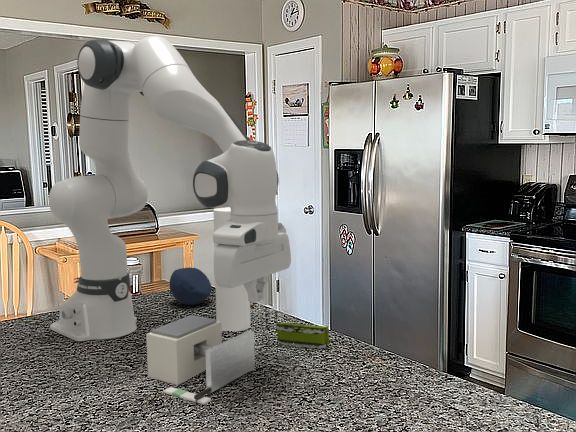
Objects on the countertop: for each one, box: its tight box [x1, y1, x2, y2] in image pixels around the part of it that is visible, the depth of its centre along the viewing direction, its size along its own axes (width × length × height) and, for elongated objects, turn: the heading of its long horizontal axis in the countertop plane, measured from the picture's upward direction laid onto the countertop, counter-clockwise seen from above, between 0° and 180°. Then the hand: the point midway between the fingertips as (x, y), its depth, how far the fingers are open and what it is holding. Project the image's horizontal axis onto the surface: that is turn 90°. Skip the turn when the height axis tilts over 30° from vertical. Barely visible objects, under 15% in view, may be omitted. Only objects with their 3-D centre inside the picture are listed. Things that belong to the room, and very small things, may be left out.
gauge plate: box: [194, 329, 256, 399], centre depth 122 cm, size 11×18×8 cm, turn 148°
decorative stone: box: [169, 267, 213, 306], centre depth 176 cm, size 12×12×10 cm
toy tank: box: [256, 322, 331, 350], centre depth 144 cm, size 7×19×10 cm
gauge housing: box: [145, 314, 223, 405], centre depth 123 cm, size 18×18×10 cm
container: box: [213, 207, 251, 333], centre depth 154 cm, size 9×9×30 cm
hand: (256, 300), depth 116 cm, fingers closed
